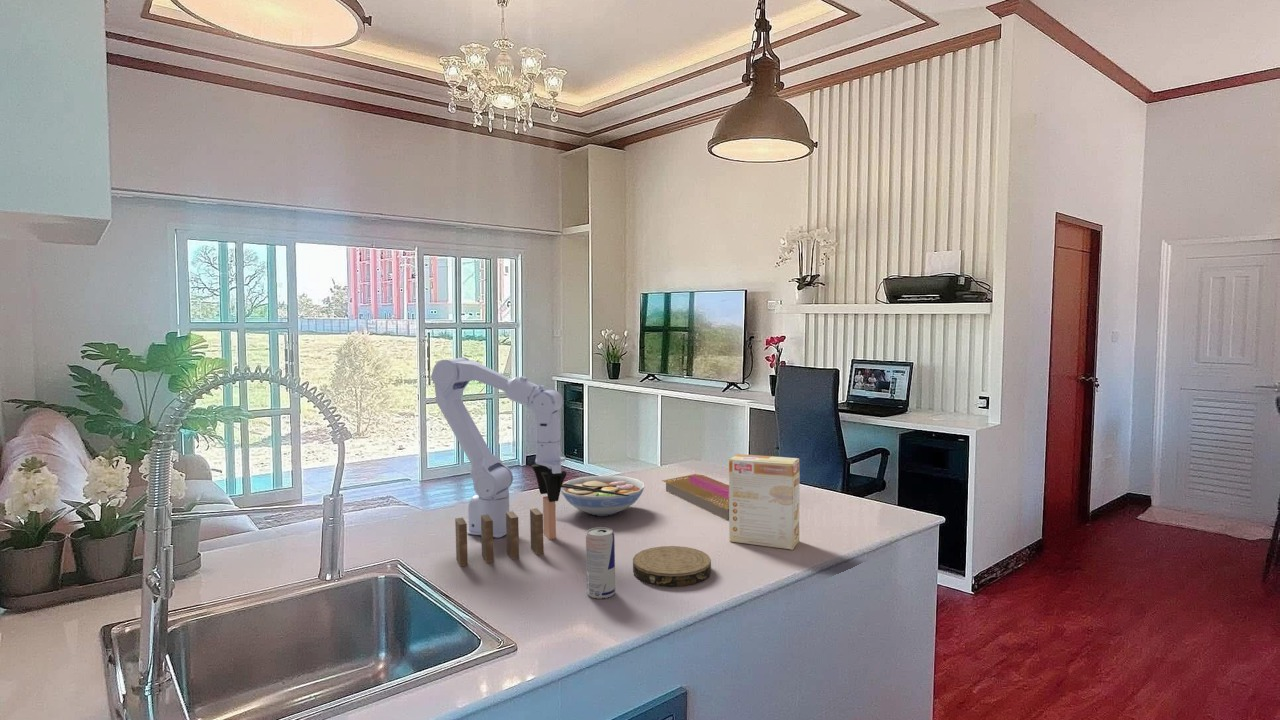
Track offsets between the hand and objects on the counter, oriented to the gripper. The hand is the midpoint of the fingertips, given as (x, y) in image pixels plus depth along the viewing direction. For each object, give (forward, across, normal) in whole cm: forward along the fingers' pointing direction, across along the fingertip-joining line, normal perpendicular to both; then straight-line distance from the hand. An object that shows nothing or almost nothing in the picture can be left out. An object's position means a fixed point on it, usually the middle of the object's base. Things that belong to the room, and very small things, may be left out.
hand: (549, 497), depth 164 cm
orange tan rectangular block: (+9, 0, 0) cm, 9 cm away
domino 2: (+9, -9, +16) cm, 21 cm away
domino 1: (+9, -9, +22) cm, 26 cm away
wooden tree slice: (+10, -33, -16) cm, 38 cm away
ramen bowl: (+10, +13, -18) cm, 24 cm away
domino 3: (+9, -9, +11) cm, 17 cm away
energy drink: (+10, -37, +1) cm, 38 cm away
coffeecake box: (+10, -25, -44) cm, 51 cm away
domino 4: (+9, -9, +6) cm, 14 cm away
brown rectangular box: (+10, +10, -50) cm, 52 cm away
